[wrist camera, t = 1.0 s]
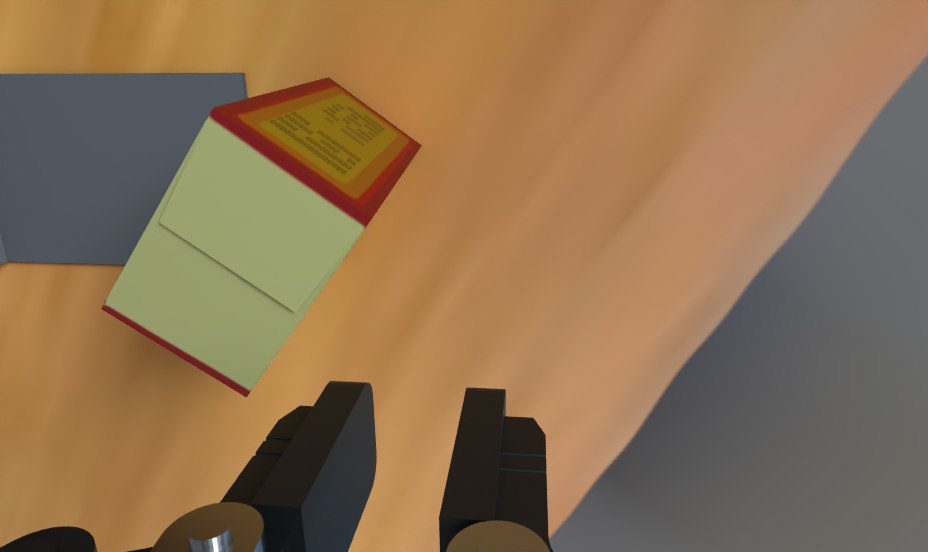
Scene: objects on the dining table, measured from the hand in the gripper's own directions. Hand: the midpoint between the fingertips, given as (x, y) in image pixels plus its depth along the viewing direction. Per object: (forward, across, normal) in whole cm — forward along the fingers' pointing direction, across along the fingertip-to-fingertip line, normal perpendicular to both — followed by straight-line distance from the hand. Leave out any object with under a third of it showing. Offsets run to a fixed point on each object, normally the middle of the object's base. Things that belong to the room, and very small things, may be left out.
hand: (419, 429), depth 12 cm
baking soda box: (+27, +10, 0) cm, 29 cm away
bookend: (+27, +24, 0) cm, 36 cm away
